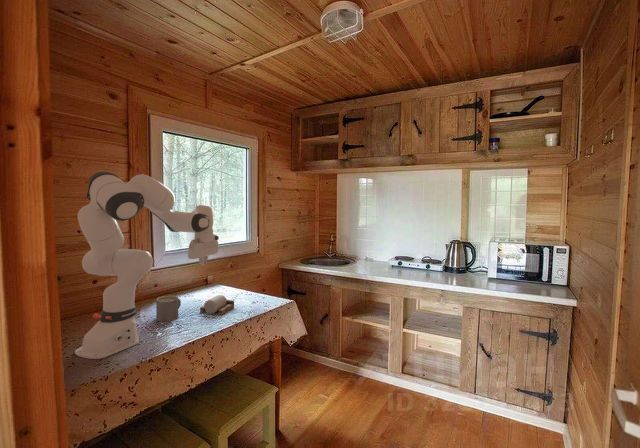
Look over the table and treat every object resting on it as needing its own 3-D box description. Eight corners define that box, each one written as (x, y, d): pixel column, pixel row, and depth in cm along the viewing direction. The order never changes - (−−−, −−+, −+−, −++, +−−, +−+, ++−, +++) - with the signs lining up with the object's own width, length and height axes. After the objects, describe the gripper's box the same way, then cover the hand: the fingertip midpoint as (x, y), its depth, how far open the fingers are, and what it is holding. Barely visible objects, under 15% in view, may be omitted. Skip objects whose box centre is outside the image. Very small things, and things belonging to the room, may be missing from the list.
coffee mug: (164, 323, 152) (164, 303, 151) (152, 318, 157) (152, 299, 156) (188, 315, 163) (188, 296, 163) (175, 311, 168) (176, 292, 167)
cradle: (221, 315, 165) (221, 307, 165) (200, 312, 168) (200, 304, 168) (234, 307, 177) (234, 300, 177) (213, 304, 180) (213, 297, 180)
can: (214, 316, 165) (226, 308, 176) (216, 302, 164) (228, 295, 175) (202, 312, 166) (215, 305, 178) (204, 299, 166) (217, 292, 177)
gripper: (196, 240, 146) (195, 269, 147) (220, 236, 166) (220, 262, 167) (184, 239, 148) (184, 268, 148) (210, 235, 167) (209, 261, 168)
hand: (203, 265), depth 158 cm, fingers closed
